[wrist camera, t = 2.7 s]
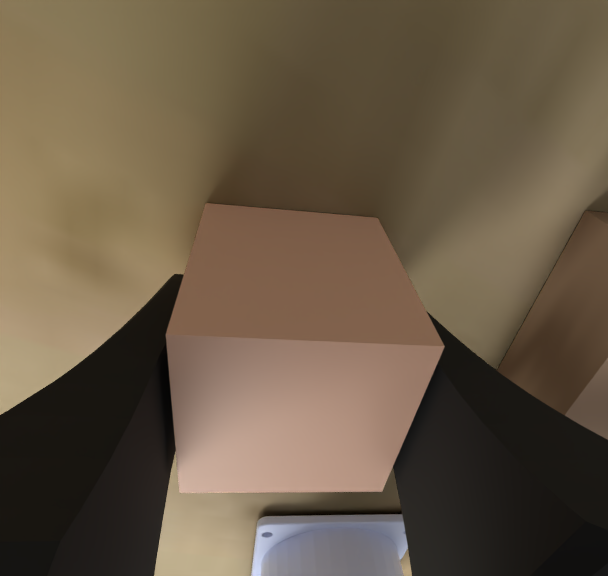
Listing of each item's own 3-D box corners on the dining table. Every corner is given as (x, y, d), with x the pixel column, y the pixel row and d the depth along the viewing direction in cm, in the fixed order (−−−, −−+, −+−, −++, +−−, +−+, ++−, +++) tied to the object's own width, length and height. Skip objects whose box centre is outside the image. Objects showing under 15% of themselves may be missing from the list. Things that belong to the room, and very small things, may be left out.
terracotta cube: (346, 342, 13) (382, 492, 9) (207, 336, 13) (179, 493, 9) (377, 217, 11) (444, 346, 7) (205, 202, 10) (165, 334, 6)
